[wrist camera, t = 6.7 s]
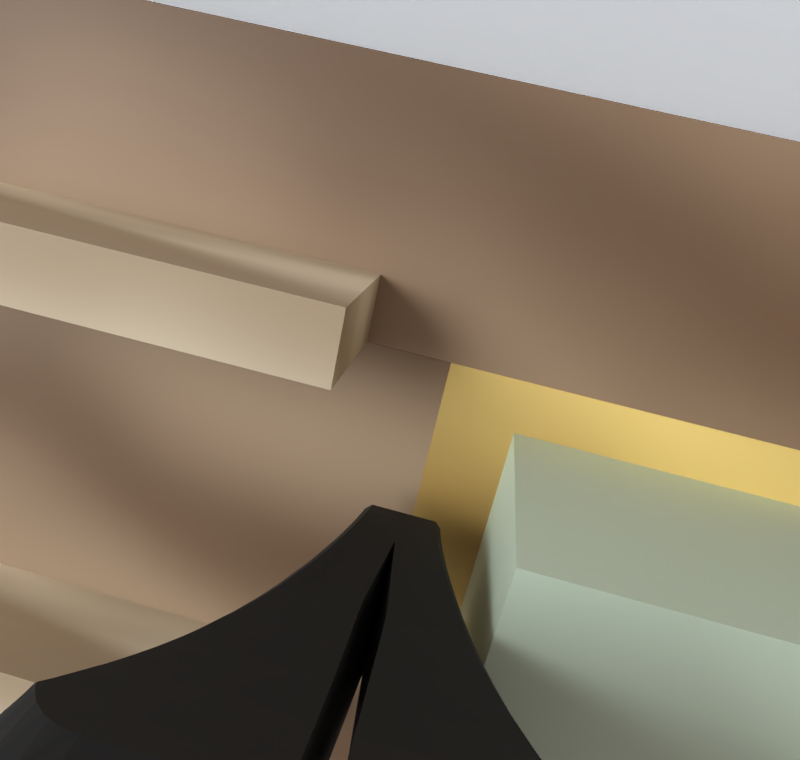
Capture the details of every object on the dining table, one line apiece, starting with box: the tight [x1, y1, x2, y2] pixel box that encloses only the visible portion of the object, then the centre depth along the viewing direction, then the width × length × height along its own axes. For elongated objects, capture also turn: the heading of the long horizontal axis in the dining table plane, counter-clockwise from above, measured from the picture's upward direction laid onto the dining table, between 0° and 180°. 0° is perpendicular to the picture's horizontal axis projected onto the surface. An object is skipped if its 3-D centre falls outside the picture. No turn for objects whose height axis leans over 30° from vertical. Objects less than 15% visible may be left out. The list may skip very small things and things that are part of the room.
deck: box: [0, 0, 800, 760], centre depth 12 cm, size 16×28×4 cm, turn 78°
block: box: [461, 433, 800, 760], centre depth 10 cm, size 5×5×4 cm
